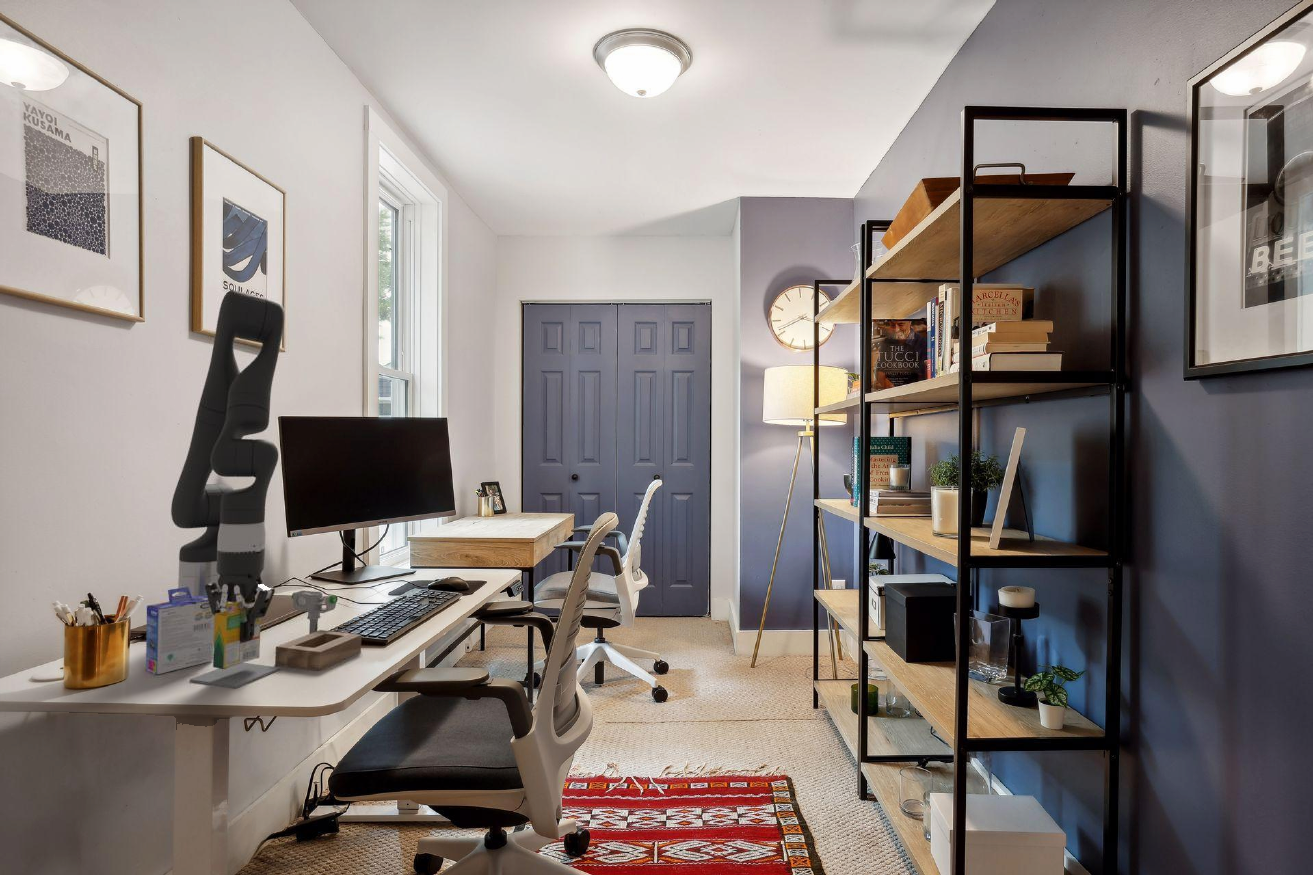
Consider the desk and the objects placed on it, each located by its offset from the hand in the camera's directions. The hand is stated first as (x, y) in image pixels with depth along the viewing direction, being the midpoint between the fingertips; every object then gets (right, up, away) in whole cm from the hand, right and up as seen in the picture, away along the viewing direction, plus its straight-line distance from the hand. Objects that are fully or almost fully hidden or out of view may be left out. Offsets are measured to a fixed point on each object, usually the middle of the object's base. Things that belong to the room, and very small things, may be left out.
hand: (237, 639), depth 123 cm
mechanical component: (+2, -7, +23) cm, 24 cm away
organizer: (+10, -7, +11) cm, 16 cm away
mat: (0, -7, 0) cm, 7 cm away
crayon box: (0, -4, 0) cm, 4 cm away
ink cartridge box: (-14, -6, +4) cm, 16 cm away
